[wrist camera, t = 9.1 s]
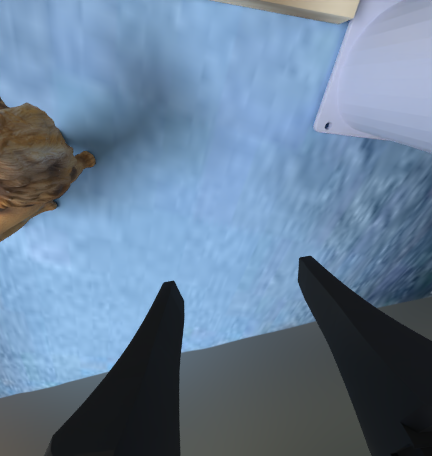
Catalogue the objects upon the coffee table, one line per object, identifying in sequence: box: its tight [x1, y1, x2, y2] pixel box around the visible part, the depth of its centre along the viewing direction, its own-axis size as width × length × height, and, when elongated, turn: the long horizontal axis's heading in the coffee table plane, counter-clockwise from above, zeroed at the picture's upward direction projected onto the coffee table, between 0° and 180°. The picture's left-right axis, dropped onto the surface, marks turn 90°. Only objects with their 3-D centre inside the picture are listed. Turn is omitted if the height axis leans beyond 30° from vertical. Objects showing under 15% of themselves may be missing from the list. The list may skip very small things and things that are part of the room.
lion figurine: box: [0, 97, 96, 242], centre depth 13 cm, size 15×5×9 cm, turn 135°
